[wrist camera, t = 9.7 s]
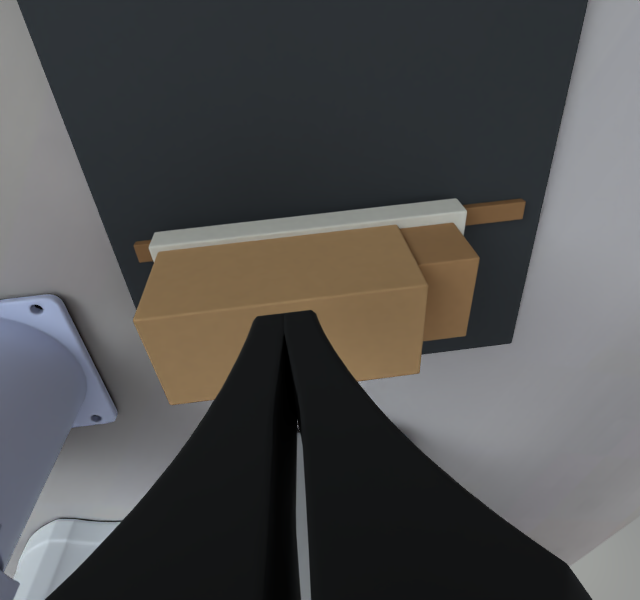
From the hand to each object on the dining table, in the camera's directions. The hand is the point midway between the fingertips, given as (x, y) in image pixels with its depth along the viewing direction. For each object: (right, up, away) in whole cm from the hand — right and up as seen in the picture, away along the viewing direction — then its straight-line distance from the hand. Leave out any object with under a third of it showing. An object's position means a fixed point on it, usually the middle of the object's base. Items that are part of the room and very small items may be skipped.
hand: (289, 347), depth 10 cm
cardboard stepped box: (0, +3, +5) cm, 6 cm away
